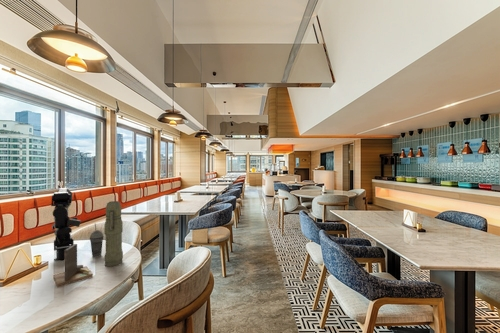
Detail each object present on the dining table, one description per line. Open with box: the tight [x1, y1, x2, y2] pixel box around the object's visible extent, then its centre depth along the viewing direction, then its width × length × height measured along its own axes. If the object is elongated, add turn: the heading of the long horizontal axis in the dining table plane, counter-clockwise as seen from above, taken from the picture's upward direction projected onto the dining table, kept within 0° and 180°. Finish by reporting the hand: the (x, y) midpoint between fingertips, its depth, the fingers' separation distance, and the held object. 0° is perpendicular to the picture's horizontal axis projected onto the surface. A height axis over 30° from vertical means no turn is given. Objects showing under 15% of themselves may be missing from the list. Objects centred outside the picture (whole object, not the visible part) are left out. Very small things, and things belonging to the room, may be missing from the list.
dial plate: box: [53, 266, 94, 288], centre depth 112 cm, size 13×14×2 cm
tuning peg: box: [63, 243, 91, 281], centre depth 112 cm, size 9×13×14 cm
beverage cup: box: [89, 223, 105, 258], centre depth 140 cm, size 7×7×20 cm
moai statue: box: [103, 200, 124, 268], centre depth 129 cm, size 9×12×35 cm
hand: (61, 244), depth 123 cm, fingers closed
